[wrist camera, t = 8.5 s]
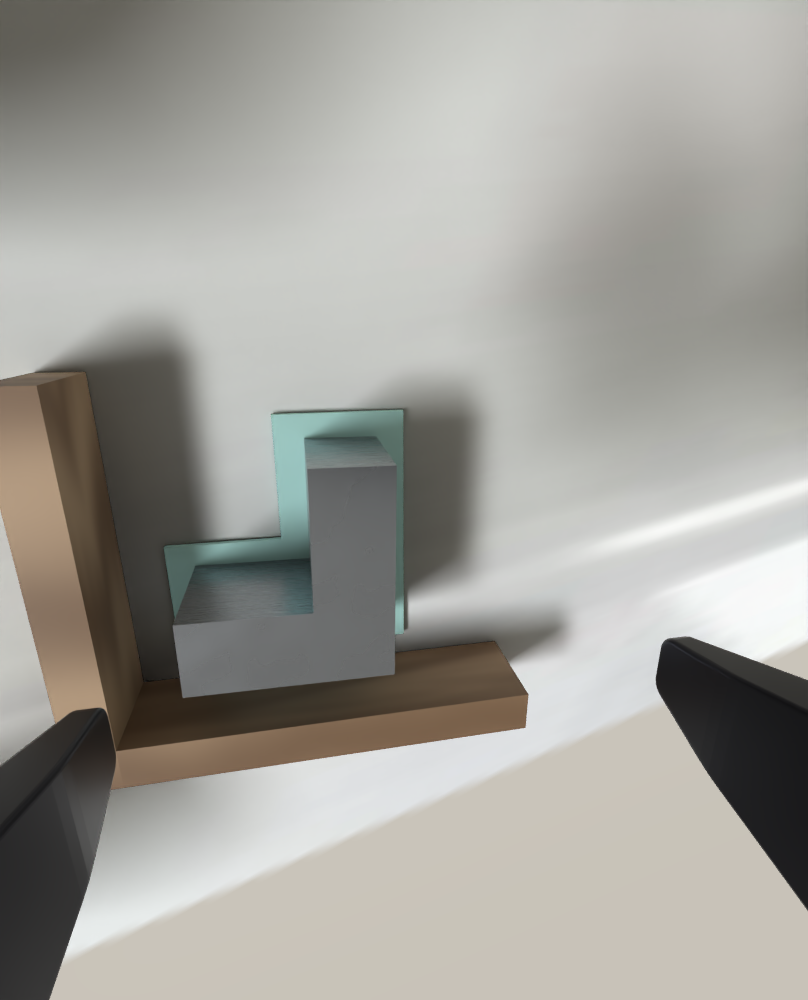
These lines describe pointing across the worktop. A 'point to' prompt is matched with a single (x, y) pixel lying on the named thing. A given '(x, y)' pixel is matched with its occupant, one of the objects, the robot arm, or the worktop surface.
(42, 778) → the robot arm
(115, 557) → the corner wall
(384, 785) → the worktop surface
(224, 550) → the mat
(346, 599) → the bracket
